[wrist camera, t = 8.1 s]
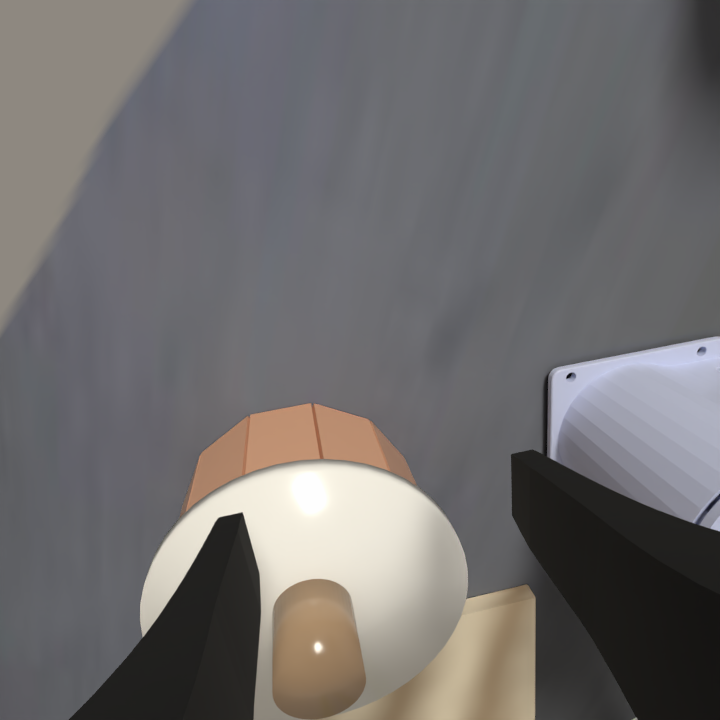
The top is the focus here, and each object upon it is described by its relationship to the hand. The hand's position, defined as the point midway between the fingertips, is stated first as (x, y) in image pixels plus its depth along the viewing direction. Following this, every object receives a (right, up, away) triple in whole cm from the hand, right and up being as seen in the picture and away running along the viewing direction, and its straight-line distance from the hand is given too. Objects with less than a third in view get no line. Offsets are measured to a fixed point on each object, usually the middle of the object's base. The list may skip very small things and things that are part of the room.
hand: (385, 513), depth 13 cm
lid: (-3, -6, +8) cm, 10 cm away
